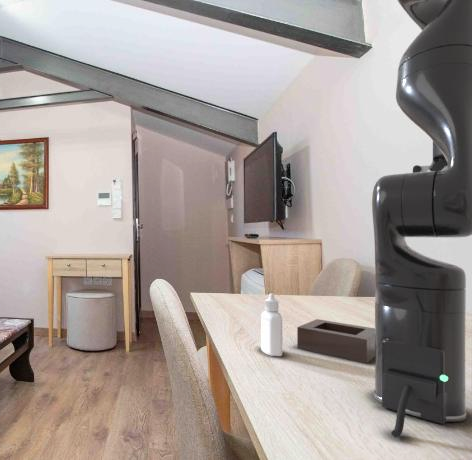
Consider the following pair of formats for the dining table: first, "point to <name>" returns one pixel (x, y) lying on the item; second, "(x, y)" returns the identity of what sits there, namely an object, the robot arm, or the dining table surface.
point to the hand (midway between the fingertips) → (457, 210)
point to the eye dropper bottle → (271, 328)
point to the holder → (337, 340)
